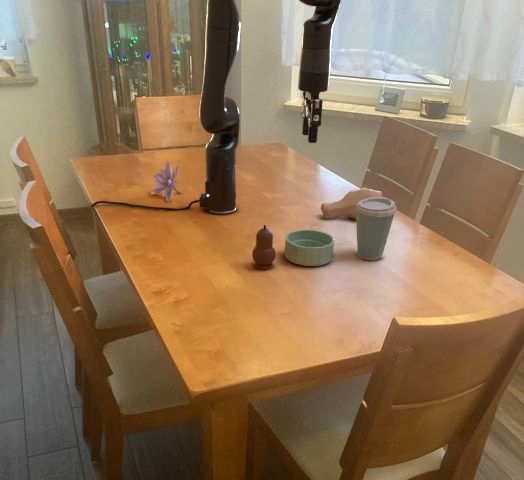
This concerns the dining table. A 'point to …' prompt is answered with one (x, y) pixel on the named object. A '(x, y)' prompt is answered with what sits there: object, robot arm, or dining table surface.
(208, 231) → the dining table surface
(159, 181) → the water lily
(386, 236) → the disposable coffee cup
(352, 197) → the squash
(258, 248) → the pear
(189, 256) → the dining table surface
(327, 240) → the bowl
